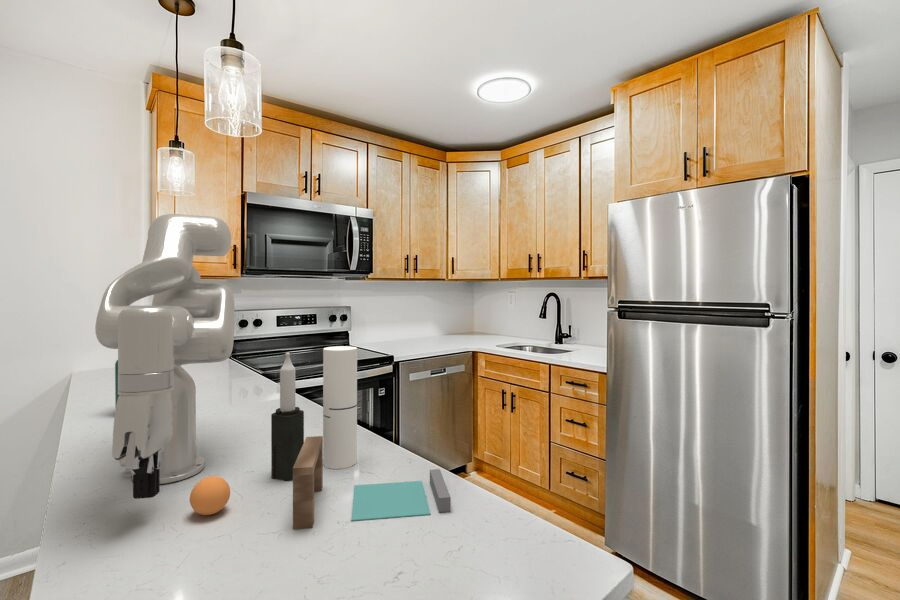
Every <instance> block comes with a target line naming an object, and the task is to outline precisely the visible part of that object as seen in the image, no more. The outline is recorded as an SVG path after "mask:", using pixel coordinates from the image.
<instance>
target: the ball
mask: <svg viewBox="0 0 900 600" xmlns="http://www.w3.org/2000/svg"><path fill="white" fill-rule="evenodd" d="M189 494H190V495H189V504H190V507H191V509H192V510H193V511H194V512H195V513H197V514H199V515H202V516H210V515H214V514H216V513H218V512H220V511H221V510H222V509H224V508H225V507H226V505H227V504H228V503H229V500H230V496H231V488H230V485H229V483H228V482H227V480H226V479H225V478H223V477H221V476H215V475H214V476H213V475H211V476H207V477H204V478H202V479H200V480H199V481H198V482H196V484H195V485H194V486H193V488H192V489H191V492H190V493H189Z"/></svg>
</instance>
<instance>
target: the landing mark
mask: <svg viewBox="0 0 900 600" xmlns="http://www.w3.org/2000/svg"><path fill="white" fill-rule="evenodd" d="M353 487H354V488H353V499H352V510H351V511H352V512H351V522H359V521H370V520H382V519H394V518H396V519H397V518H407V517H409V518H410V517H419V516H420V517H421V516H430V515H431V509H430V506H429V503H428V499H427V495H426V492H425V487H424V484H423V480H415V481H413V480H412V481H399V482H398V481H397V482H386V483H385V482H384V483H383V482H382V483H372V484H371V483H369V484H354V486H353Z"/></svg>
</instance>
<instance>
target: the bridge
mask: <svg viewBox="0 0 900 600" xmlns="http://www.w3.org/2000/svg"><path fill="white" fill-rule="evenodd" d="M323 469H324V465H323V435H321V436H320V435H319V436H318V435H317V436H306V437H305V438H304V444H303V446H302V448H301V450H300V453H299V455H298V457H297V460H296V462H295V464H294V467H293V480H292V530H298V529H299V530H300V529H311V528H312V529H313V527H314V524H315V523H314V522H315V492H322V491H323V483H324V482H323V479H324V478H323V476H324V475H323V474H324V473H323Z"/></svg>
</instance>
